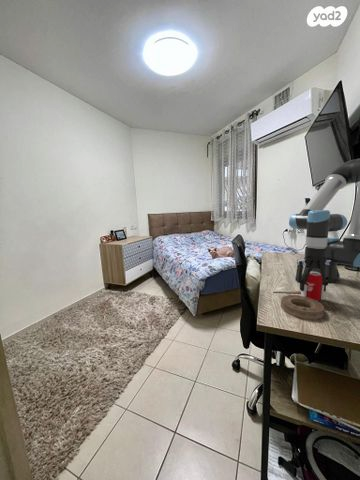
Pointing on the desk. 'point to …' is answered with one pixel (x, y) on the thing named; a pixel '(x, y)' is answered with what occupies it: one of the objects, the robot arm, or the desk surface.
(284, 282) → the desk surface
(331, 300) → the desk surface
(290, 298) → the brown flat ring
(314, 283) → the beverage can
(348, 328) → the desk surface
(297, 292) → the lace cord
